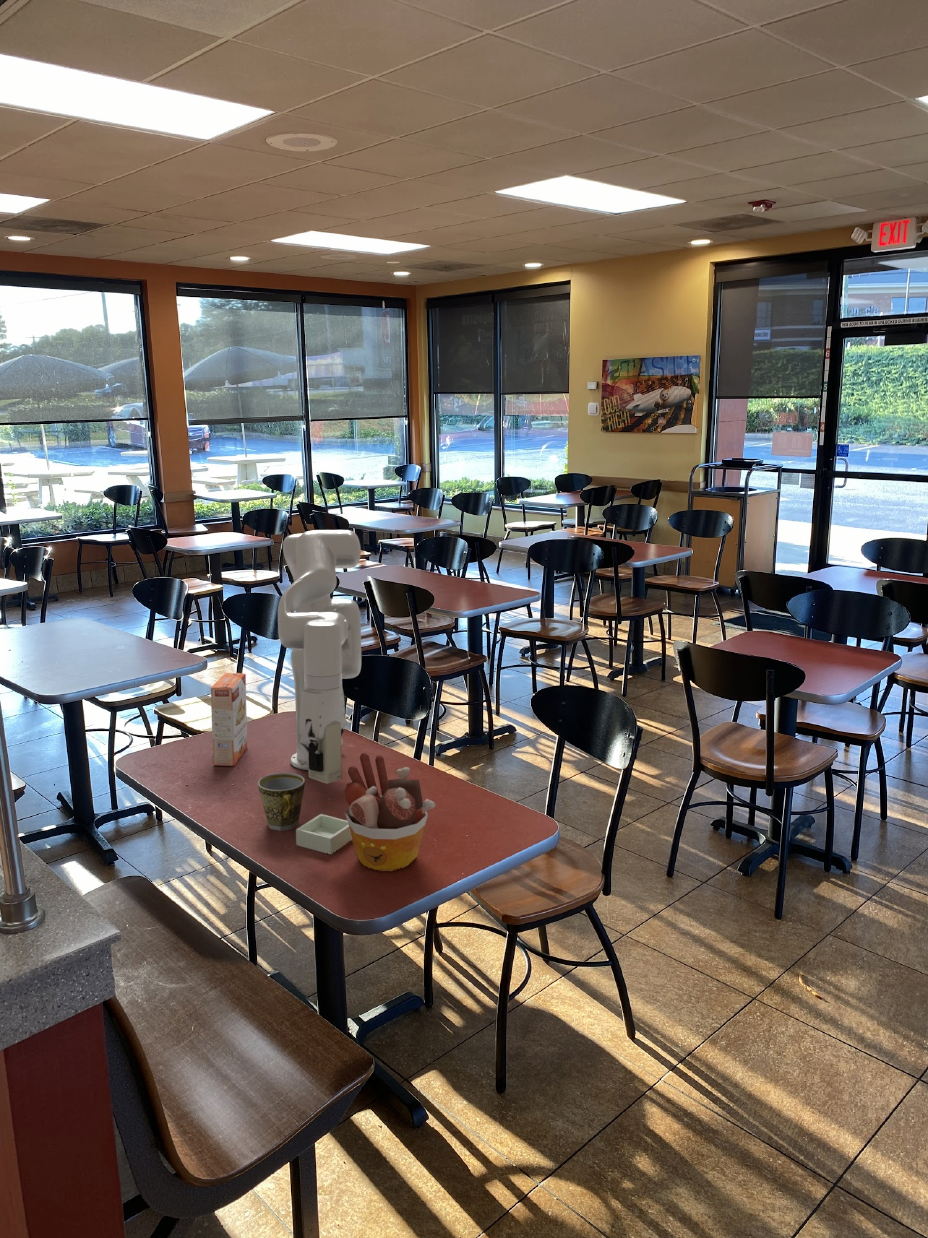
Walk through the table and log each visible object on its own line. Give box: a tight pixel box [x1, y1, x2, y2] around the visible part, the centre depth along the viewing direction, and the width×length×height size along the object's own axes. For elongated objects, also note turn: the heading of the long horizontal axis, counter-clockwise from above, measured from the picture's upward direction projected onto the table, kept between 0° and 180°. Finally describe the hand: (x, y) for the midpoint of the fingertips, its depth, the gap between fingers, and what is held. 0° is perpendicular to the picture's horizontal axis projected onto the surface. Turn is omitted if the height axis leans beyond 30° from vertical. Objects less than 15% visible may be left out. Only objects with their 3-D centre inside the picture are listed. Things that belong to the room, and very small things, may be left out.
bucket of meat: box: [343, 752, 436, 871], centre depth 185 cm, size 20×16×20 cm
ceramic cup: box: [257, 772, 306, 832], centre depth 199 cm, size 13×10×10 cm
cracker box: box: [210, 672, 248, 767], centre depth 238 cm, size 14×6×21 cm, turn 179°
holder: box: [295, 813, 353, 855], centre depth 194 cm, size 9×9×4 cm
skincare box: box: [307, 722, 343, 785], centre depth 190 cm, size 6×4×12 cm
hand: (324, 765), depth 190 cm, fingers closed on skincare box, 5 cm apart
